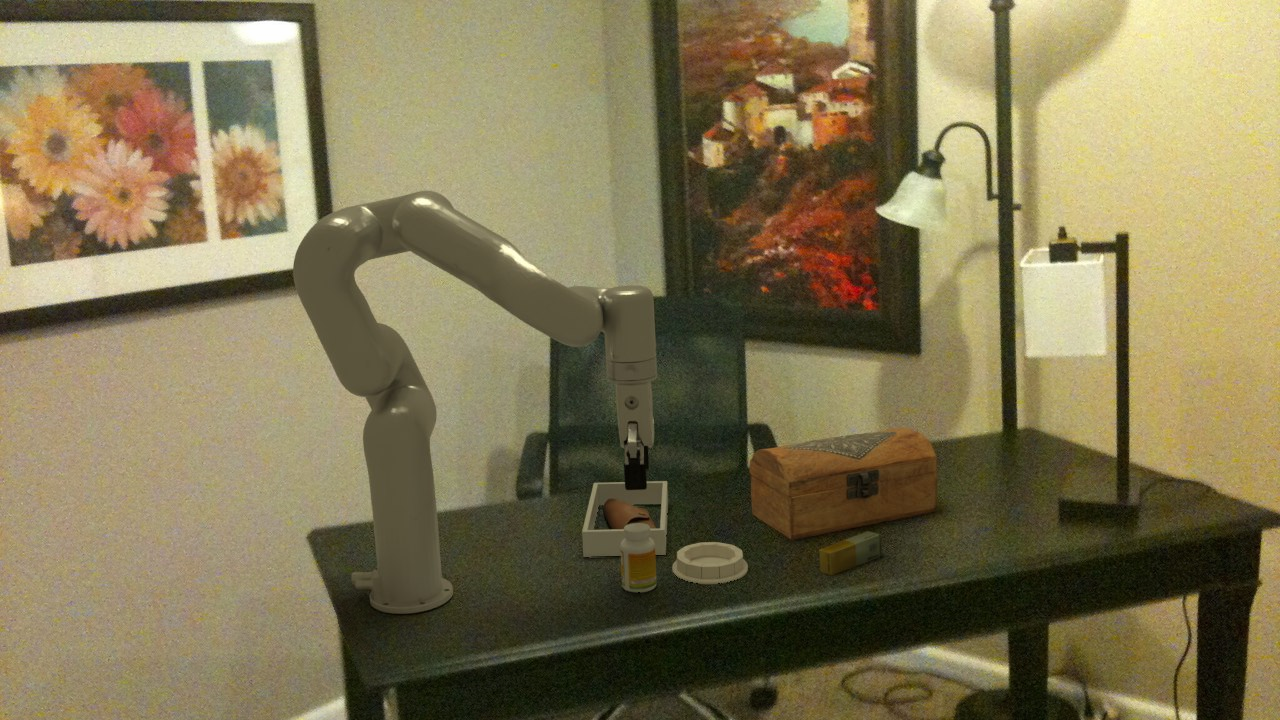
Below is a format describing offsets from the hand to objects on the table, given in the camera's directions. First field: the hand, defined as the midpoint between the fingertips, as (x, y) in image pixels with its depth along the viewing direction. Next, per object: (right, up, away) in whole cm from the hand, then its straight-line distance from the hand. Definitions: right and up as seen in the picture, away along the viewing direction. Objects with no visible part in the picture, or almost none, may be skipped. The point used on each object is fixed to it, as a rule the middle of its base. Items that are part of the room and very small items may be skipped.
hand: (637, 478), depth 182 cm
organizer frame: (-2, -12, +28) cm, 31 cm away
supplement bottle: (0, -17, +4) cm, 18 cm away
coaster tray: (+12, -15, +9) cm, 21 cm away
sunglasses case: (-1, -12, +28) cm, 31 cm away
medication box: (+34, -15, +10) cm, 38 cm away
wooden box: (+37, -10, +32) cm, 50 cm away
